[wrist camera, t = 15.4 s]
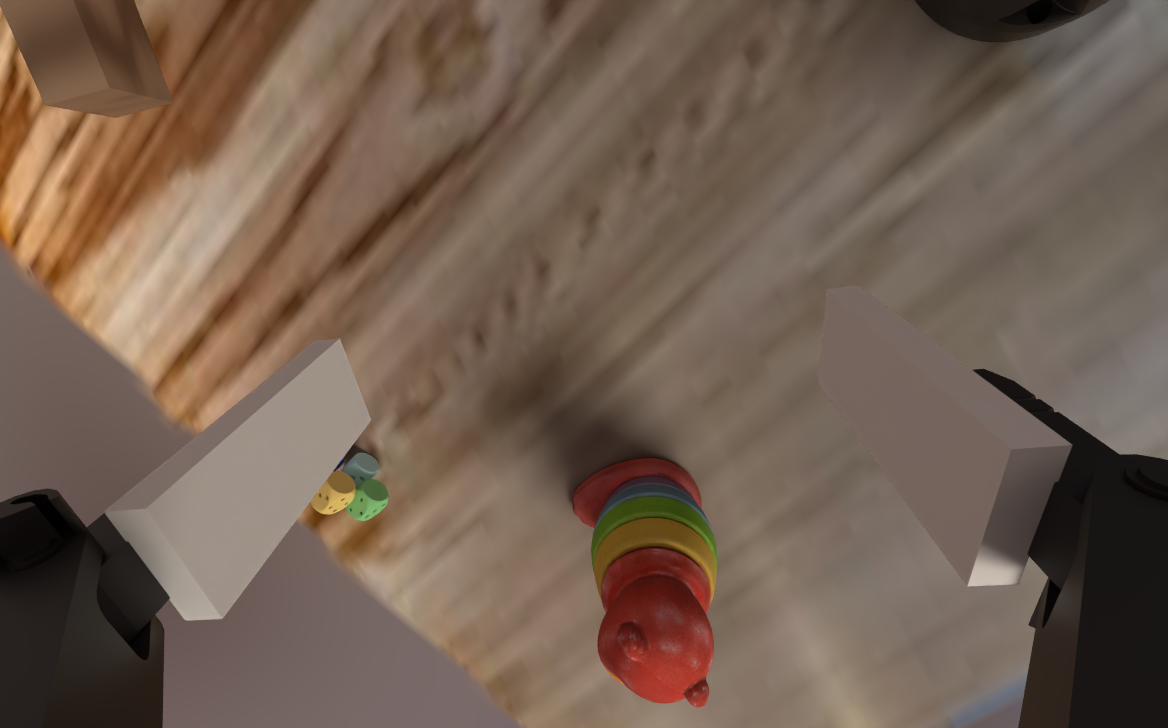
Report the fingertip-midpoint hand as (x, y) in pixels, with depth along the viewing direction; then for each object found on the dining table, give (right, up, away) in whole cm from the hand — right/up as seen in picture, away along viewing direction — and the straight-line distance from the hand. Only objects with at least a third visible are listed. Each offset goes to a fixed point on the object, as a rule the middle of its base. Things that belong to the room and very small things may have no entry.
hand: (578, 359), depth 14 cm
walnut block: (-34, +22, +23) cm, 46 cm away
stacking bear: (+6, -13, +31) cm, 34 cm away
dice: (-20, -9, +32) cm, 39 cm away
